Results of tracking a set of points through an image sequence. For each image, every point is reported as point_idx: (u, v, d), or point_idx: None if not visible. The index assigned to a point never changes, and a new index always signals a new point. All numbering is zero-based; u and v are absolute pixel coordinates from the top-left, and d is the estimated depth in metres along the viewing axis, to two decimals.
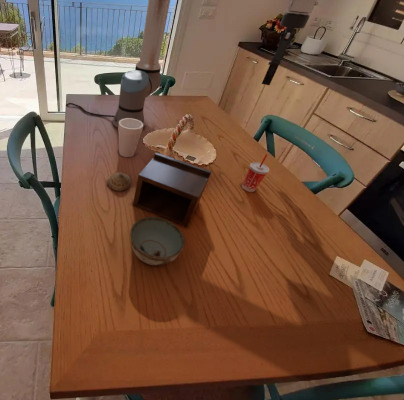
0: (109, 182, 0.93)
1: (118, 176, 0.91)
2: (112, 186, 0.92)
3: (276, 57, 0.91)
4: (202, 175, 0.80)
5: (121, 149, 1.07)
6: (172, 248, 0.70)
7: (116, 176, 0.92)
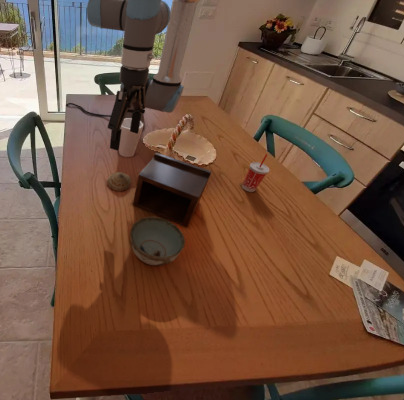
0: (109, 182, 0.93)
1: (118, 176, 0.91)
2: (112, 186, 0.92)
3: (111, 120, 0.71)
4: (202, 175, 0.80)
5: (121, 149, 1.07)
6: (172, 248, 0.70)
7: (116, 176, 0.92)
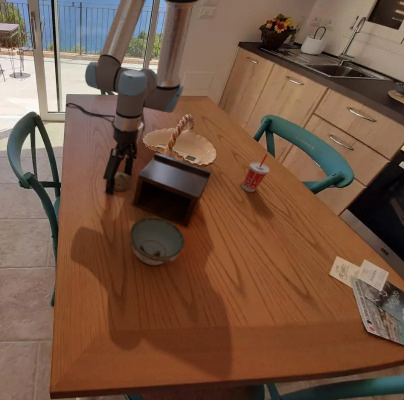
0: None
1: (118, 176, 0.91)
2: None
3: (106, 172, 0.83)
4: (202, 175, 0.80)
5: None
6: (172, 248, 0.70)
7: (116, 176, 0.92)
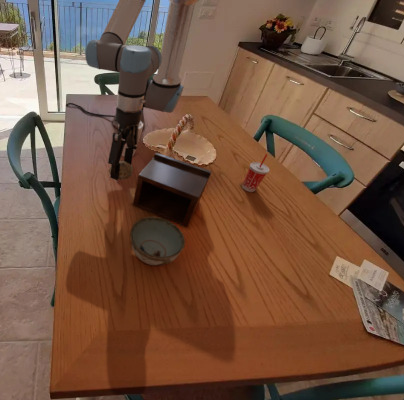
0: (110, 171, 0.90)
1: (120, 164, 0.88)
2: None
3: (111, 157, 0.81)
4: (202, 175, 0.80)
5: None
6: (172, 248, 0.70)
7: None
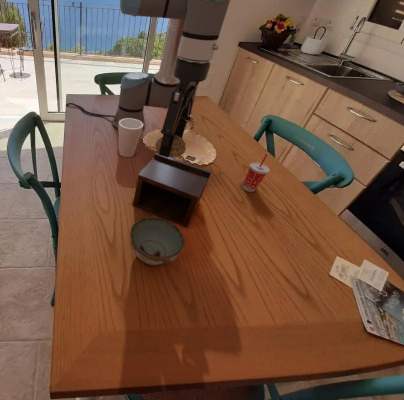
0: (158, 147, 0.72)
1: None
2: None
3: (166, 125, 0.63)
4: (202, 175, 0.80)
5: (121, 149, 1.07)
6: (172, 248, 0.70)
7: None
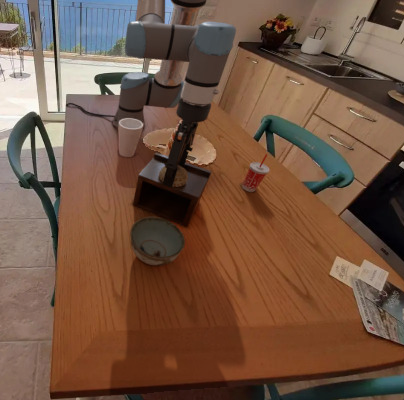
0: (162, 176, 0.76)
1: None
2: None
3: (170, 160, 0.67)
4: (202, 175, 0.80)
5: (121, 149, 1.07)
6: (172, 248, 0.70)
7: None
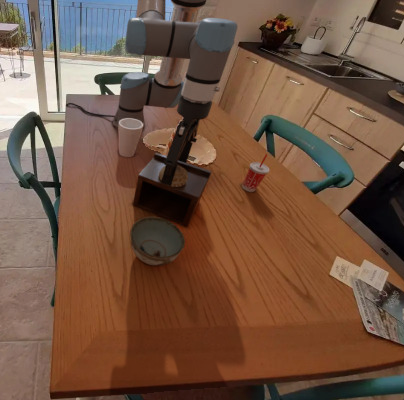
0: (162, 176, 0.76)
1: None
2: None
3: (169, 156, 0.65)
4: (202, 175, 0.80)
5: (121, 149, 1.07)
6: (172, 248, 0.70)
7: None
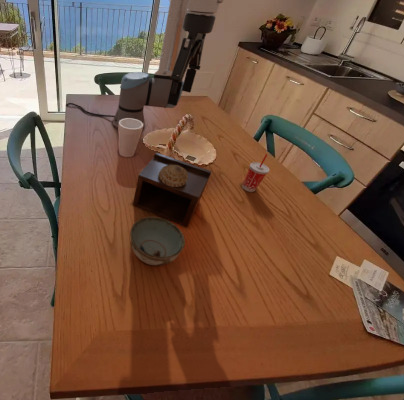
0: (162, 176, 0.76)
1: (174, 169, 0.75)
2: (166, 181, 0.75)
3: (175, 70, 0.69)
4: (202, 175, 0.80)
5: (121, 149, 1.07)
6: (172, 248, 0.70)
7: (171, 169, 0.75)
